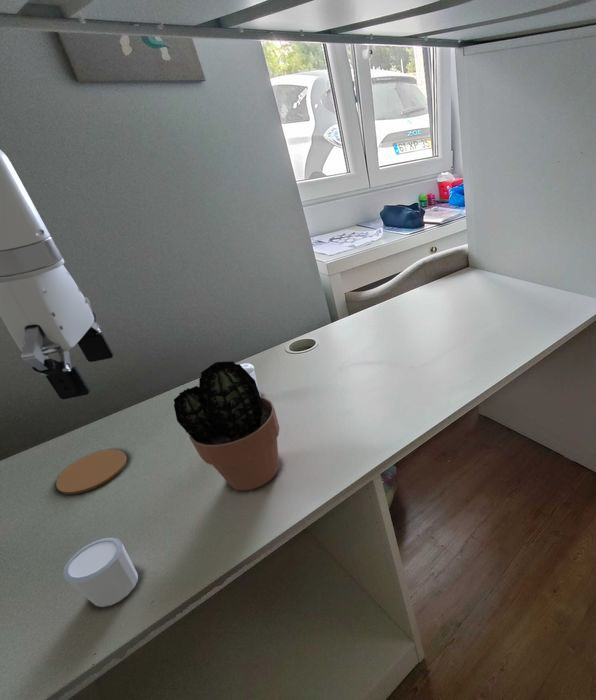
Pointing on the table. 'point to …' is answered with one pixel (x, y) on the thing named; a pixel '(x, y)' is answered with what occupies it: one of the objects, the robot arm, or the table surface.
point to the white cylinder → (102, 572)
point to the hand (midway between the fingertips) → (89, 376)
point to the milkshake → (250, 372)
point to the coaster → (91, 471)
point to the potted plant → (231, 425)
